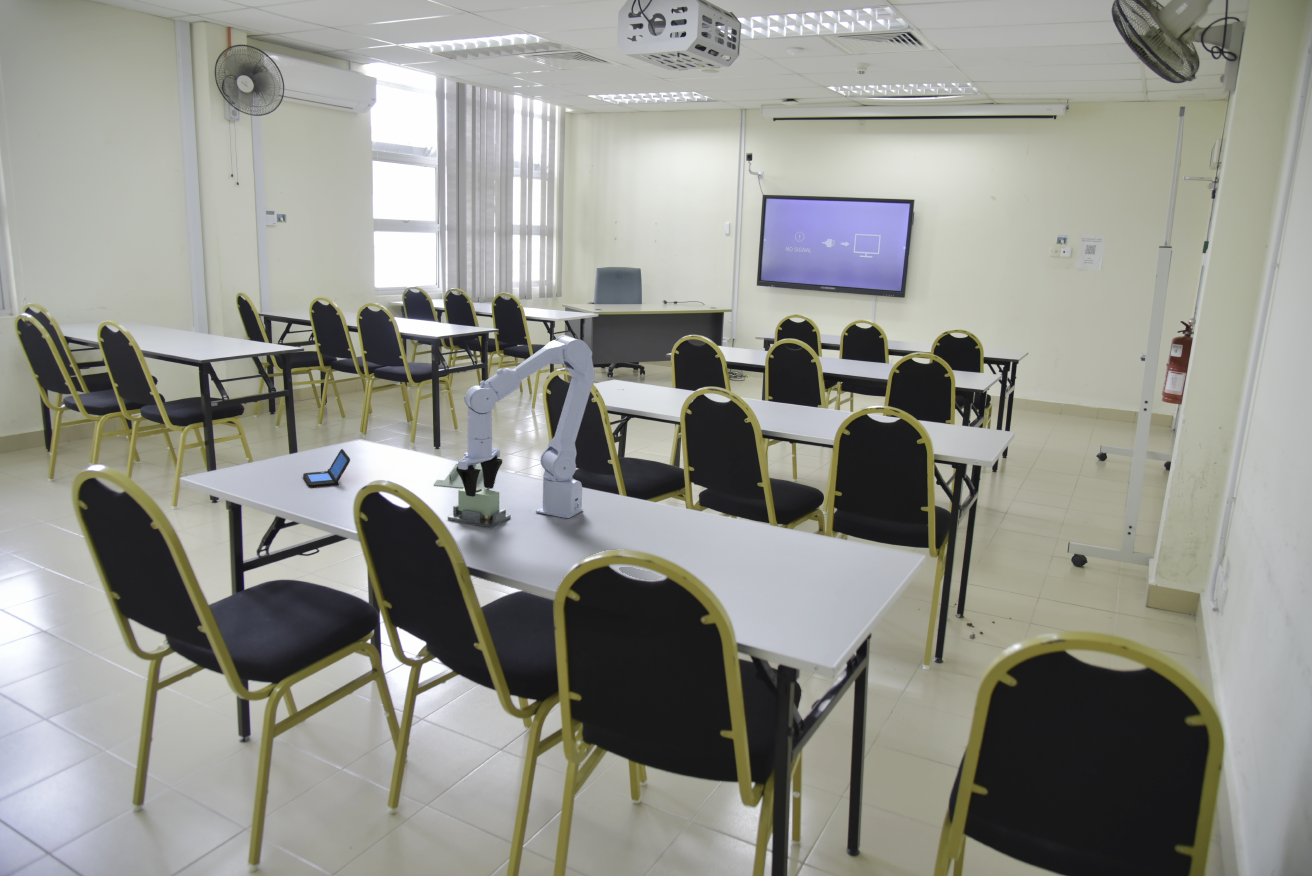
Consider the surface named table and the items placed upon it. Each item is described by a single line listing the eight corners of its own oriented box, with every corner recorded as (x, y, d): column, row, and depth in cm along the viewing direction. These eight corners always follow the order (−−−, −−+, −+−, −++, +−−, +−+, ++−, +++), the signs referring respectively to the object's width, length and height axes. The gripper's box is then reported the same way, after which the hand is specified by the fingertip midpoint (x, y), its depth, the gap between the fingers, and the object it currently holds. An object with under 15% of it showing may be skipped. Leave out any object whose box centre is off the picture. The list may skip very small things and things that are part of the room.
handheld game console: (302, 477, 236) (301, 451, 234) (343, 473, 241) (342, 448, 240) (309, 489, 225) (307, 462, 224) (351, 485, 231) (350, 458, 229)
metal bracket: (450, 456, 244) (500, 460, 242) (452, 473, 246) (502, 477, 244) (430, 482, 231) (484, 487, 229) (433, 500, 234) (486, 505, 232)
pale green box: (499, 511, 207) (499, 490, 206) (490, 516, 204) (490, 494, 203) (468, 505, 211) (468, 484, 210) (458, 510, 207) (458, 488, 206)
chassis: (510, 517, 210) (510, 507, 209) (490, 528, 201) (490, 516, 201) (469, 510, 214) (469, 499, 213) (447, 519, 206) (447, 508, 205)
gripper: (482, 429, 211) (483, 482, 214) (447, 440, 198) (447, 496, 201) (507, 432, 209) (507, 486, 212) (472, 444, 195) (473, 501, 199)
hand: (479, 491), depth 206 cm, fingers open, 7 cm apart
